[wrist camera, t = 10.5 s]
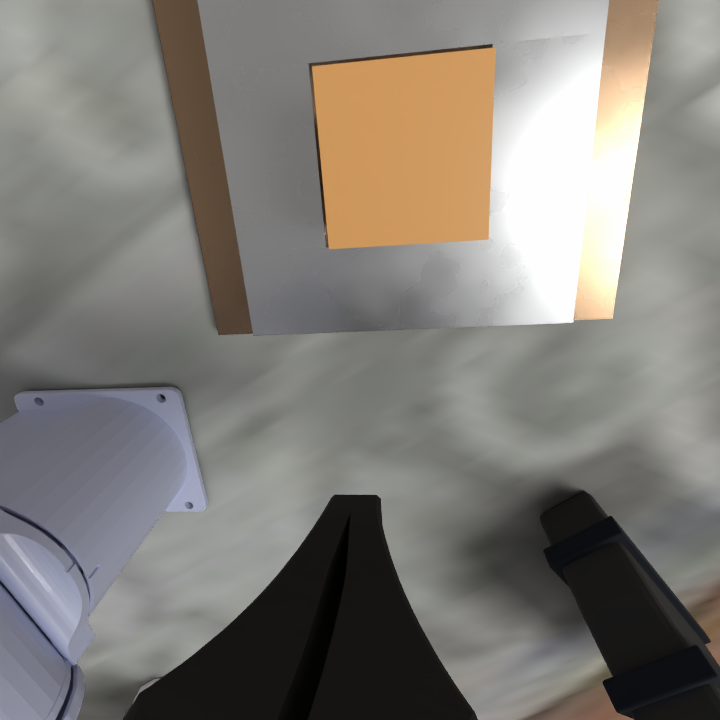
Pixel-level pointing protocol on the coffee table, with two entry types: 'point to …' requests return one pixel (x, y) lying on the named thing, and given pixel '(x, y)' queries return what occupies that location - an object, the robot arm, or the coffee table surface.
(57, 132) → the coffee table surface
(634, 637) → the black ridged slab
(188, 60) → the socket
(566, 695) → the coffee table surface
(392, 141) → the orange rectangular block
